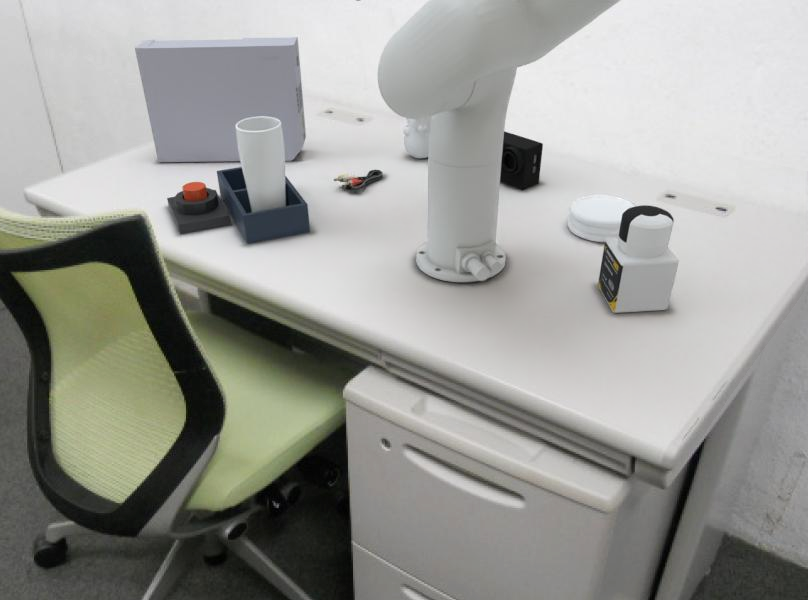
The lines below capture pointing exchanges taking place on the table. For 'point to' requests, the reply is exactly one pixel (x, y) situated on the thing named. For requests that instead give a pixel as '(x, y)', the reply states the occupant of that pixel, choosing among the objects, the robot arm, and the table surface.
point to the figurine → (418, 136)
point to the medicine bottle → (639, 262)
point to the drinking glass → (262, 161)
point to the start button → (194, 191)
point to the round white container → (597, 216)
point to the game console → (219, 94)
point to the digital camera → (520, 161)
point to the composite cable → (359, 180)
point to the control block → (198, 212)
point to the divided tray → (266, 221)
